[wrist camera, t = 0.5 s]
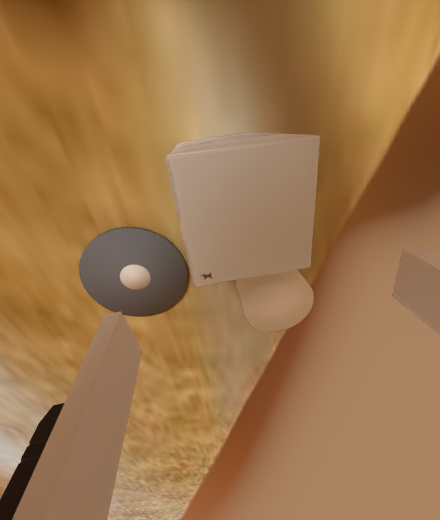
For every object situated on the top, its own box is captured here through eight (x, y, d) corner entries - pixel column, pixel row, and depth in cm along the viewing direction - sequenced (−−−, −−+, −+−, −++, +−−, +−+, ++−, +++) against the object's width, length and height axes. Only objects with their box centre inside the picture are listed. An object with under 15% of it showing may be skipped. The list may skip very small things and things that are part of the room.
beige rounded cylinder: (226, 247, 32) (238, 285, 25) (283, 234, 32) (314, 268, 25) (236, 292, 36) (249, 338, 29) (286, 281, 36) (313, 323, 29)
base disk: (60, 241, 29) (57, 243, 29) (170, 216, 29) (170, 217, 29) (108, 322, 36) (107, 325, 36) (197, 301, 36) (197, 304, 36)
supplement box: (260, 210, 30) (313, 272, 17) (190, 220, 30) (192, 292, 17) (257, 129, 26) (327, 132, 13) (175, 141, 25) (161, 155, 12)
